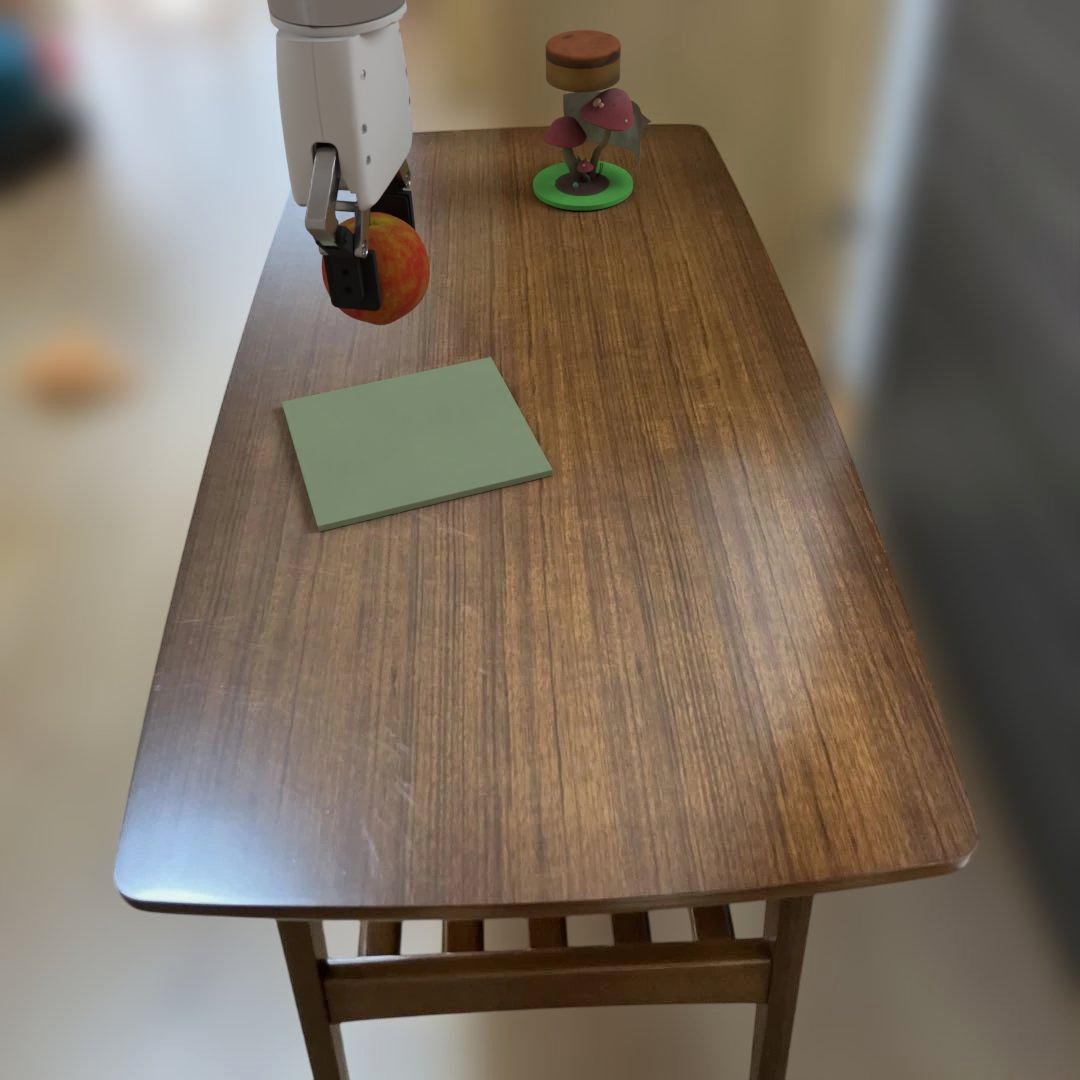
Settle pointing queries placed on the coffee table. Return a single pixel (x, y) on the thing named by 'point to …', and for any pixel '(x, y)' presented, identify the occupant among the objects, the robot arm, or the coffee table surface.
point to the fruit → (393, 268)
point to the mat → (411, 442)
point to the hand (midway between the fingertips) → (375, 273)
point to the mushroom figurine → (588, 122)
